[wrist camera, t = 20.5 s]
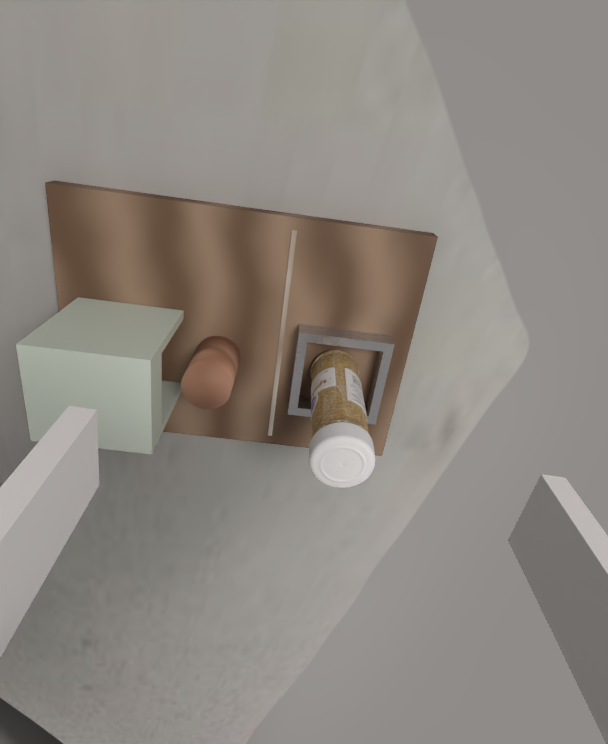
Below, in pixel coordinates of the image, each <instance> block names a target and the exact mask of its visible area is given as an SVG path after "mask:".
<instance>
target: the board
mask: <svg viewBox="0 0 608 744" xmlns="http://www.w3.org/2000/svg"><path fill="white" fill-rule="evenodd" d="M45 184H46V194H47V203H48V213H49V222H50V232H51V241H52V250H53V260H54V269H55V279H56V288H57V298H58V307H59V311H61V310H62V309H63V308H65V307H66V306H67V305H68V304H70V303H71V302H72V301H74V300H75V299H76V298H78V297H80V298H88V299H96V300H104V301H112V302H120V303H128V304H136V305H144V306H152V307H159V308H167V309H175V310H183V311H184V319H183V321H182V322H181V324H180V325H179V327H178V329H177V330H176V332H175V333H174V335H173V336H172V338H171V340H170V341H169V343H168V344H167V346H166V347H165V349H164V351H163V352H162V381H170V382H179V383H181V390H182V392H181V394H180V396H179V398H178V400H177V402H176V404H175V407H174V409H173V411H172V413H171V415H170V417H169V419H168V421H167V424H166V426H165V428H164V430H163V431H164V432H173V433H182V434H191V435H200V436H209V437H218V438H227V439H235V440H244V441H253V442H262V443H271V444H280V445H289V446H298V447H306V448H309V445H310V441H311V439H312V420H311V417H306V416H297V415H289V414H288V404H289V396H290V389H291V381H292V374H293V367H294V360H295V352H296V345H297V338H298V330H299V324H306V325H314V326H322V327H330V328H338V329H346V330H353V331H361V332H369V333H377V334H385V335H391V336H392V339H393V341H394V344H395V345H394V349H393V353H392V358H391V362H390V366H389V370H388V374H387V379H386V383H385V387H384V391H383V395H382V400H381V404H380V408H379V412H378V416H377V420H376V425H375V424H367V425H368V431H369V435H370V437H371V439H372V441H373V445H374V451H375V455H377V456H382V454H383V450H384V446H385V442H386V438H387V434H388V430H389V426H390V422H391V418H392V415H393V411H394V407H395V403H396V399H397V395H398V391H399V387H400V383H401V379H402V375H403V371H404V367H405V364H406V360H407V356H408V352H409V348H410V344H411V340H412V336H413V332H414V328H415V324H416V320H417V316H418V313H419V309H420V305H421V301H422V297H423V293H424V289H425V285H426V281H427V277H428V273H429V269H430V266H431V262H432V258H433V254H434V250H435V246H436V242H437V238H438V237H437V236H436V235H435V234H434V233H428V232H421V231H413V230H406V229H399V228H392V227H385V226H377V225H370V224H363V223H356V222H348V221H341V220H334V219H327V218H320V217H312V216H305V215H298V214H291V213H283V212H276V211H269V210H262V209H255V208H247V207H240V206H233V205H226V204H219V203H211V202H204V201H197V200H190V199H182V198H175V197H168V196H161V195H154V194H146V193H139V192H132V191H125V190H118V189H110V188H103V187H96V186H89V185H81V184H74V183H67V182H60V181H51V182H47V183H45ZM336 349H337V350H342V351H345V352H347V353H349V354H350V355H352V356H353V357H354V358H355V360H356V361H357V363H358V367H359V379H360V382H361V386H362V391H363V397H364V403H365V405H366V404H367V400H368V395H369V391H370V387H371V382H372V378H373V373H374V369H375V364H376V360H377V355H378V351H373V350H365V349H357V348H349V347H341V346H333V345H325V344H317V343H309V342H307V347H306V354H305V360H304V367H303V374H302V381H301V388H300V394H299V397H302V398H311V386H312V379H311V375H310V370H311V365H312V363H313V362H314V360H315V359H316V358H317V356H319V355H320V354H322V353H324V352H326V351H329V350H336Z"/></svg>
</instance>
